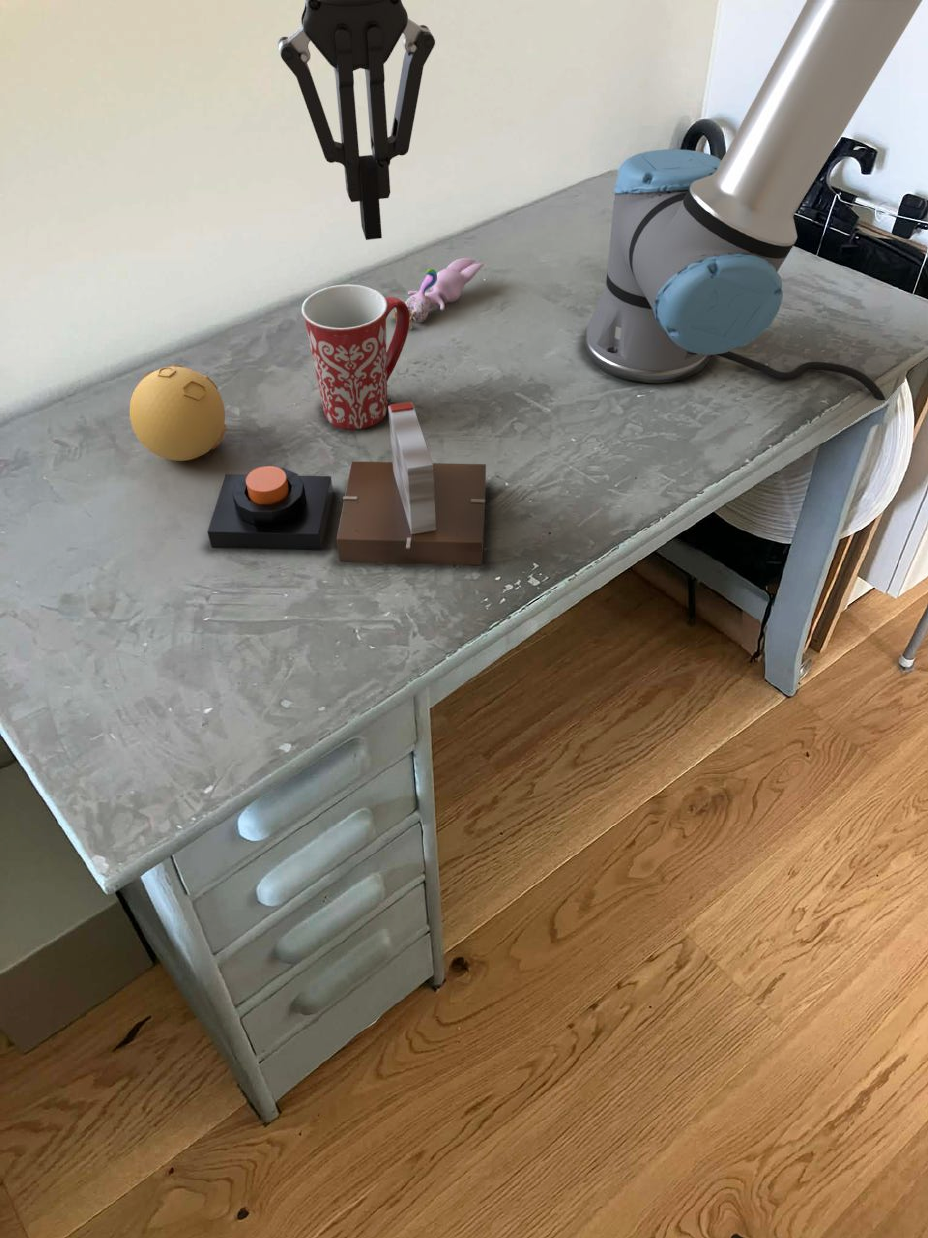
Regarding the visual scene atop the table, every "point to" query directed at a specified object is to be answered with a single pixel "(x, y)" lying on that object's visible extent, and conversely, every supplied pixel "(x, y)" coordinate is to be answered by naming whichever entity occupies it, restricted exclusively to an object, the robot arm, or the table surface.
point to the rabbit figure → (440, 288)
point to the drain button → (267, 485)
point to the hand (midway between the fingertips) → (371, 231)
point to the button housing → (272, 515)
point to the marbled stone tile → (412, 467)
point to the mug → (353, 351)
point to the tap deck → (382, 526)
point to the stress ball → (177, 413)
